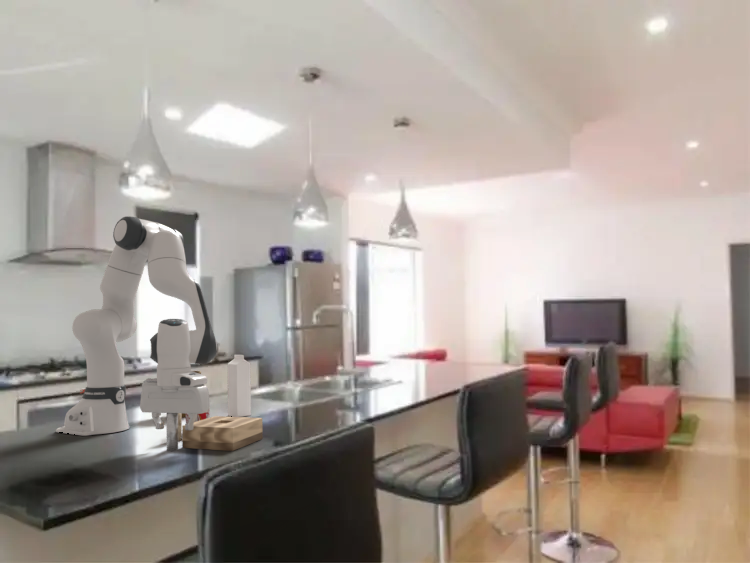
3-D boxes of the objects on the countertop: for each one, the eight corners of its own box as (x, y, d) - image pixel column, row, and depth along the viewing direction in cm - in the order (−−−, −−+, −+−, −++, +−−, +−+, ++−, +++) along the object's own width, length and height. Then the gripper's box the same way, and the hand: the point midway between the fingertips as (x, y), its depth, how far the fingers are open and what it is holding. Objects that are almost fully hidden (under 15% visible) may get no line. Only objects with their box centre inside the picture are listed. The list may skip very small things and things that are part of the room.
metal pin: (164, 450, 162) (164, 413, 163) (171, 448, 165) (171, 411, 166) (173, 451, 161) (173, 413, 162) (180, 449, 164) (180, 412, 165)
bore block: (182, 447, 166) (182, 425, 166) (215, 436, 181) (215, 416, 181) (233, 450, 161) (232, 428, 161) (262, 438, 176) (262, 418, 176)
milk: (237, 417, 214) (236, 355, 215) (227, 416, 218) (226, 354, 219) (251, 415, 219) (250, 354, 220) (241, 413, 223) (240, 353, 224)
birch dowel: (168, 441, 175) (168, 410, 175) (175, 439, 178) (175, 408, 178) (177, 441, 174) (177, 410, 175) (183, 439, 177) (183, 408, 177)
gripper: (134, 379, 165) (134, 430, 164) (198, 379, 159) (199, 432, 158) (149, 377, 171) (150, 426, 170) (212, 377, 165) (213, 428, 164)
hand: (174, 429), depth 164 cm, fingers open, 8 cm apart
